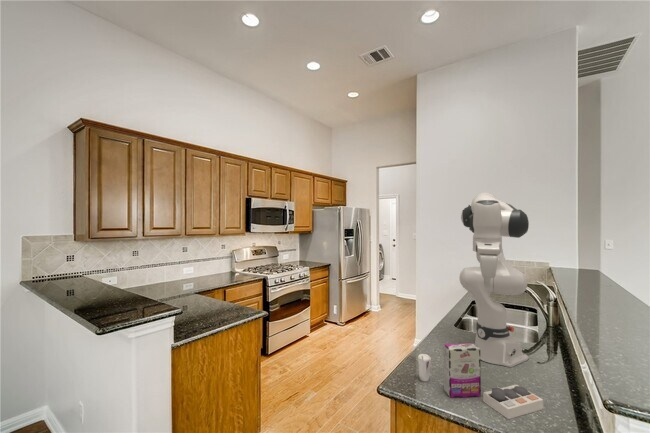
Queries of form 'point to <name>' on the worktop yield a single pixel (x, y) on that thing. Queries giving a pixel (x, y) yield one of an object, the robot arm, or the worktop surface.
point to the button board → (514, 403)
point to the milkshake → (424, 367)
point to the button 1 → (498, 394)
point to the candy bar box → (462, 370)
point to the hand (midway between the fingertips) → (486, 286)
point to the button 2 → (521, 390)
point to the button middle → (510, 393)
